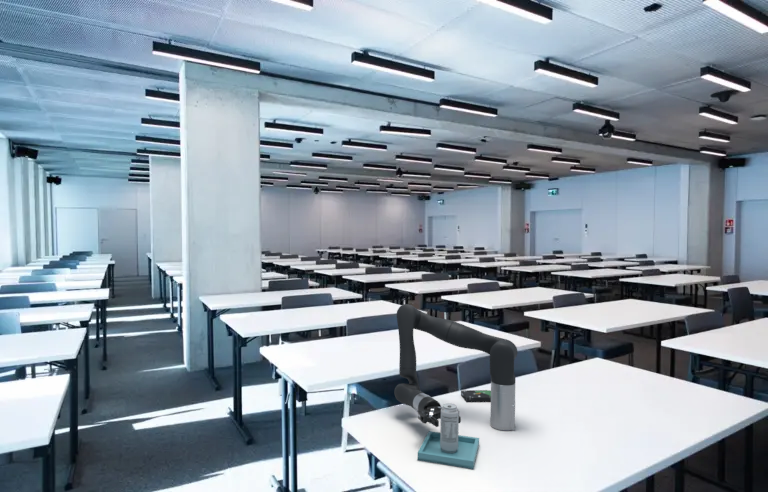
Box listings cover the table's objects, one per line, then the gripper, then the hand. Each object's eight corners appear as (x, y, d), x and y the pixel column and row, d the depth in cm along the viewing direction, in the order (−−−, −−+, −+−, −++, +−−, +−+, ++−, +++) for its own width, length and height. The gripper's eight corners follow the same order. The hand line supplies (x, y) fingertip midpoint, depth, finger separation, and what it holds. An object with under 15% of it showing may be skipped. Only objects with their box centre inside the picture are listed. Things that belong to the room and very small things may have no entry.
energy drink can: (459, 447, 154) (460, 403, 154) (456, 455, 149) (457, 410, 149) (442, 444, 156) (442, 401, 156) (438, 452, 151) (439, 407, 151)
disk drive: (466, 404, 201) (498, 403, 202) (466, 397, 201) (498, 396, 202) (460, 396, 211) (491, 395, 213) (460, 390, 211) (491, 389, 213)
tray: (479, 445, 158) (479, 438, 158) (473, 469, 141) (473, 461, 141) (428, 437, 164) (429, 430, 164) (417, 460, 146) (417, 452, 146)
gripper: (409, 398, 165) (430, 414, 150) (443, 394, 171) (466, 408, 156) (409, 418, 165) (430, 436, 150) (442, 413, 171) (466, 430, 156)
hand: (448, 422), depth 153 cm, fingers open, 8 cm apart
